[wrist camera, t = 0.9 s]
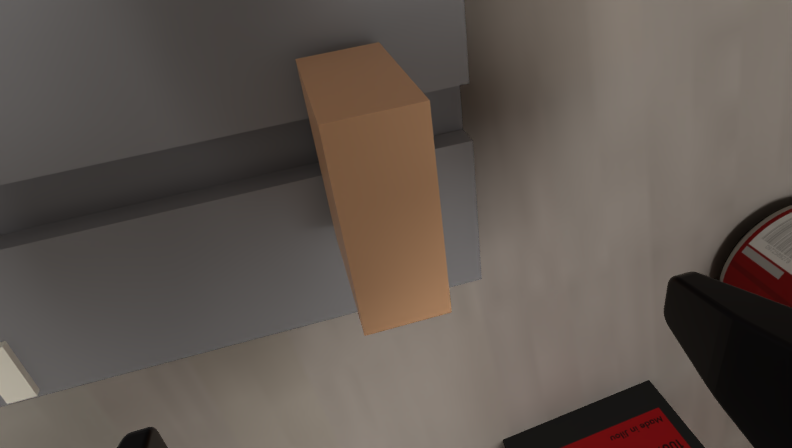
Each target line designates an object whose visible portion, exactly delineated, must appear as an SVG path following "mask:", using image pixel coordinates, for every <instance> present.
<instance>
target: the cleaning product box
mask: <svg viewBox="0 0 792 448" xmlns="http://www.w3.org/2000/svg"><path fill="white" fill-rule="evenodd" d="M503 442H504V445H505V448H705V447H704V446H703V445H702V444H701V443H700V441H699V440H698V439H697V438H696V436H695V435H694V434H693V433H692V432H691V430H690V429H689V428H688V427H687V426H686V424H685V423H684V422H683V421H682V420H681V418H680V417H679V416H678V415H677V413H676V412H675V411H674V410H673V409H672V407H671V406H670V405H669V404H668V403H667V401H666V400H665V399H664V398H663V396H662V395H661V394H660V393H659V392H658V390H657V389H656V388H655V387H654V386H653V384H652V383H651V382H650V381H649V380H648V381H645V382H643V383H641V384H638V385H636V386H633V387H631V388H628V389H626V390H623V391H621V392H619V393H616V394H614V395H611V396H609V397H606V398H604V399H602V400H599V401H597V402H594V403H592V404H589V405H587V406H584V407H582V408H580V409H577V410H575V411H572V412H570V413H567V414H565V415H562V416H560V417H558V418H555V419H553V420H550V421H548V422H545V423H543V424H541V425H538V426H536V427H533V428H531V429H528V430H526V431H523V432H521V433H519V434H516V435H514V436H511V437H509V438H506V439H504V440H503Z"/></svg>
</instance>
